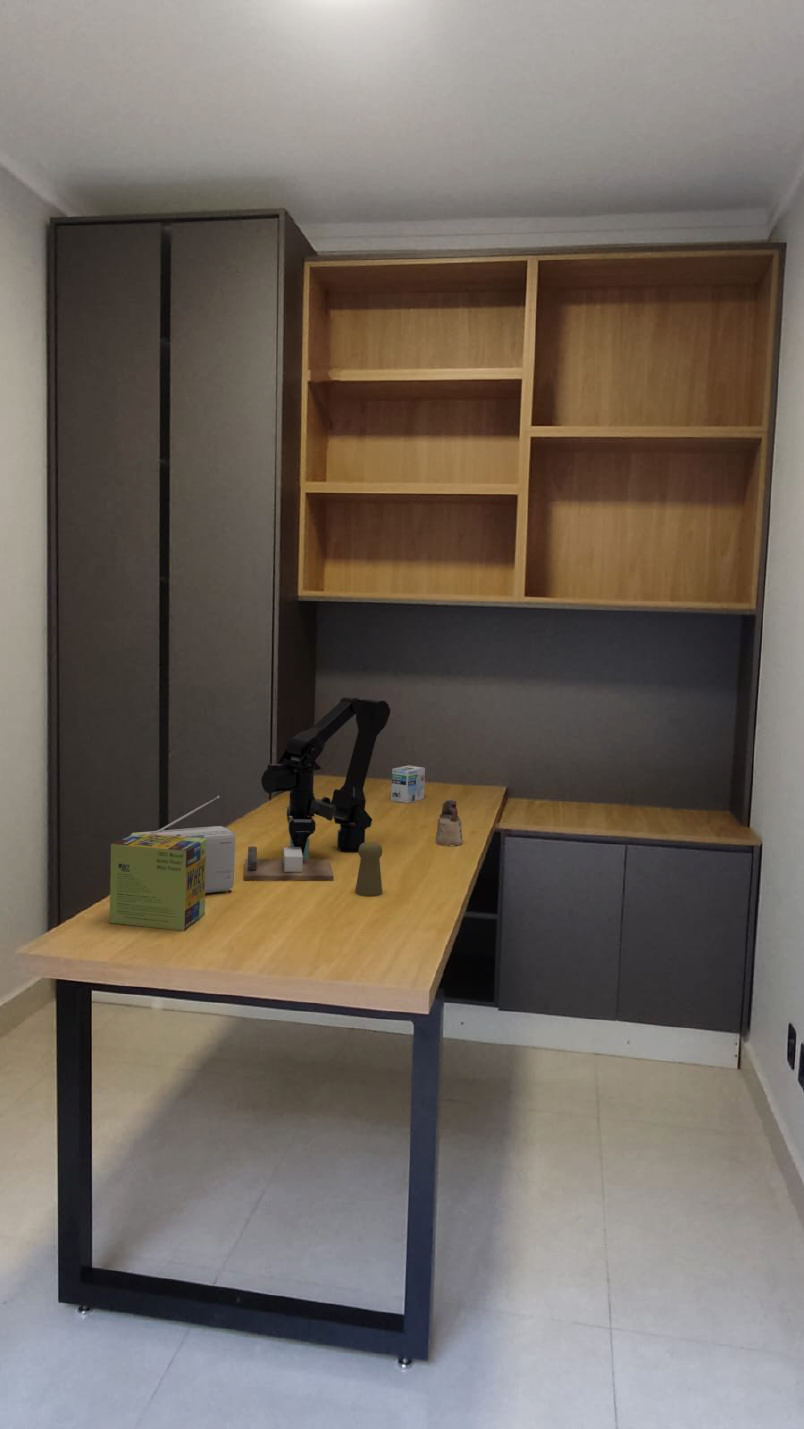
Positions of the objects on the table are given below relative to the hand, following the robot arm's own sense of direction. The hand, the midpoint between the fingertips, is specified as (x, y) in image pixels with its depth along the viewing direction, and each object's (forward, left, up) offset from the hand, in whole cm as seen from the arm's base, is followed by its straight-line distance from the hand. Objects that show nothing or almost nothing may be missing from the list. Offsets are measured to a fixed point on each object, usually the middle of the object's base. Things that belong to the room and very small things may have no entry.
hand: (299, 852), depth 231 cm
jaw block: (0, 0, -2) cm, 2 cm away
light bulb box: (-39, -77, -2) cm, 86 cm away
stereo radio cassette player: (+26, +27, -2) cm, 38 cm away
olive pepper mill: (-14, +27, -2) cm, 30 cm away
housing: (+2, +11, -1) cm, 11 cm away
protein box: (+29, +44, -2) cm, 53 cm away
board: (+3, +11, -2) cm, 12 cm away
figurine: (-41, -18, -2) cm, 45 cm away
